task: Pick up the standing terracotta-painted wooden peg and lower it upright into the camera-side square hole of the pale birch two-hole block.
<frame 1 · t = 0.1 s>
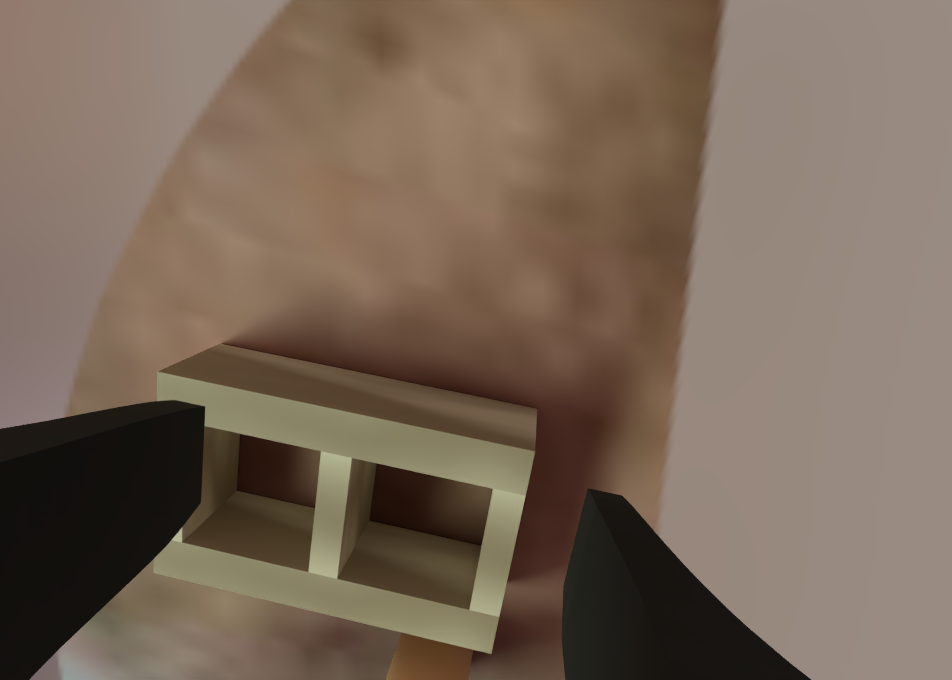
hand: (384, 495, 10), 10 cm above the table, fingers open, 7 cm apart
peg: (437, 638, 23), on the table
hole block: (363, 466, 21), on the table
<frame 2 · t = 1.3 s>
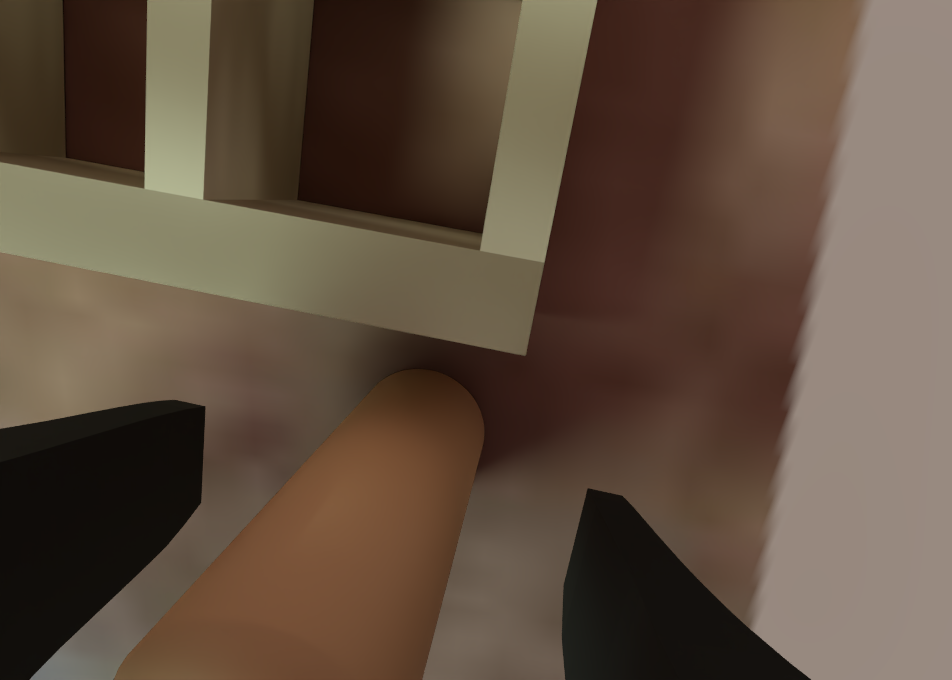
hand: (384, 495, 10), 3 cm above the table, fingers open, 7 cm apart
peg: (421, 429, 13), on the table
hole block: (283, 86, 12), on the table
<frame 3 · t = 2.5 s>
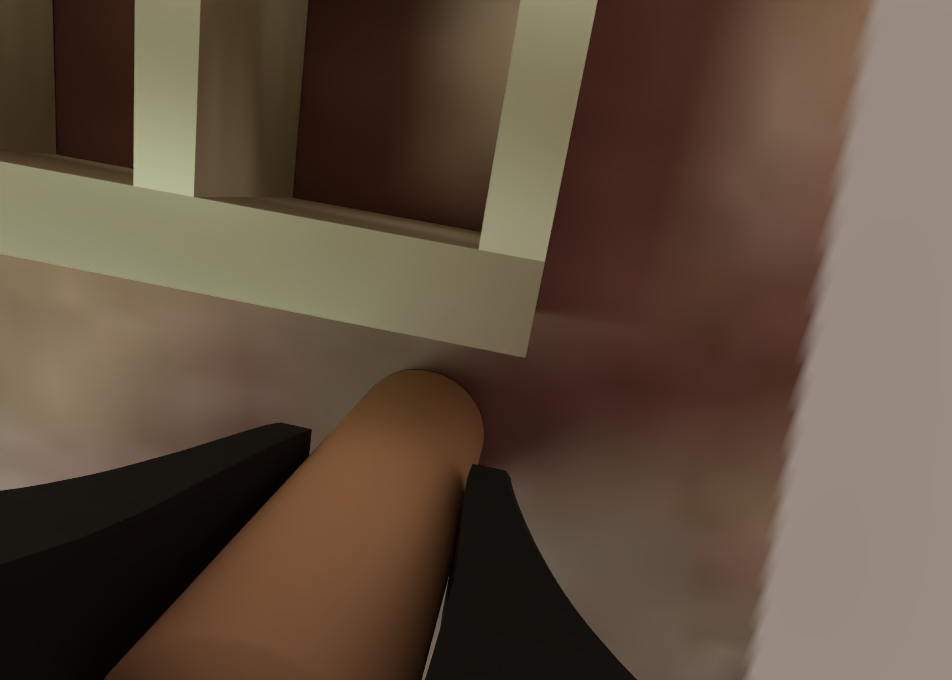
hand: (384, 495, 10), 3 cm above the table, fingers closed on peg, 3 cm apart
peg: (419, 431, 13), on the table, touching gripper
hole block: (278, 81, 11), on the table
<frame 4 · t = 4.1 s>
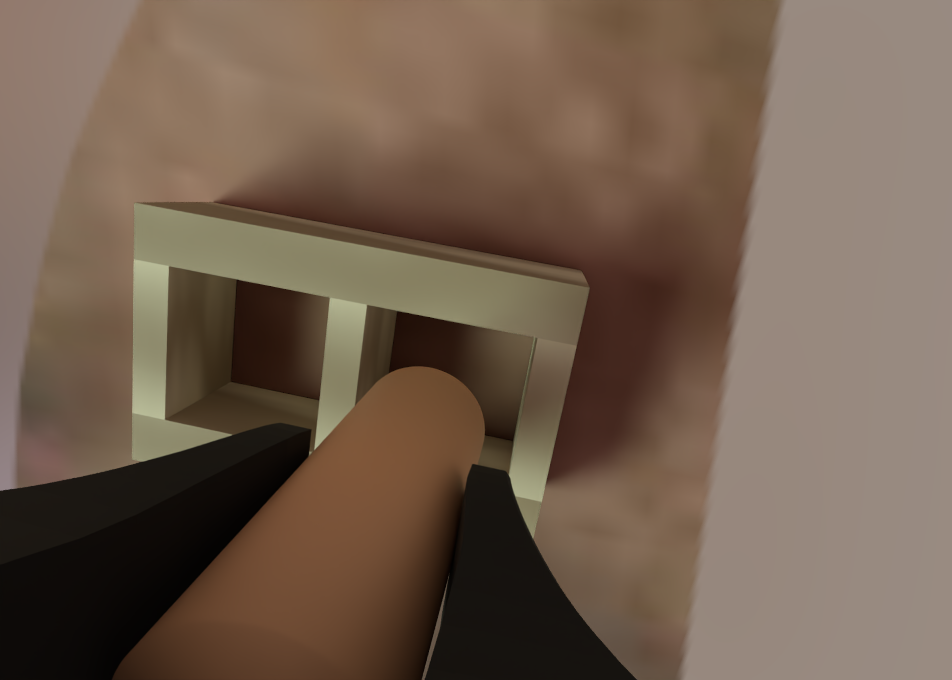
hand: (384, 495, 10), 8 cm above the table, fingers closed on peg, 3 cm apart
peg: (421, 427, 13), point 5 cm above the table, touching gripper
hole block: (377, 348, 19), on the table
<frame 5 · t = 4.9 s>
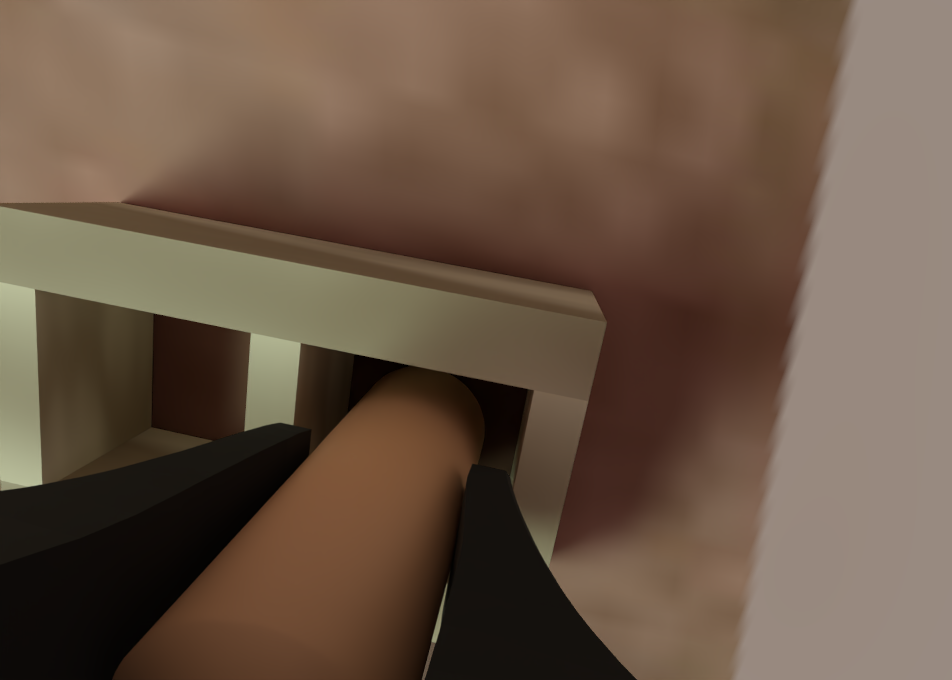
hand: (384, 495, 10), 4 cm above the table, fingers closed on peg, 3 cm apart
peg: (421, 426, 13), point 1 cm above the table, touching gripper
hole block: (331, 388, 15), on the table
when the fingers open (4 cm above the table, at t = 5.7 s): peg drops 1 cm, resting in hole block.
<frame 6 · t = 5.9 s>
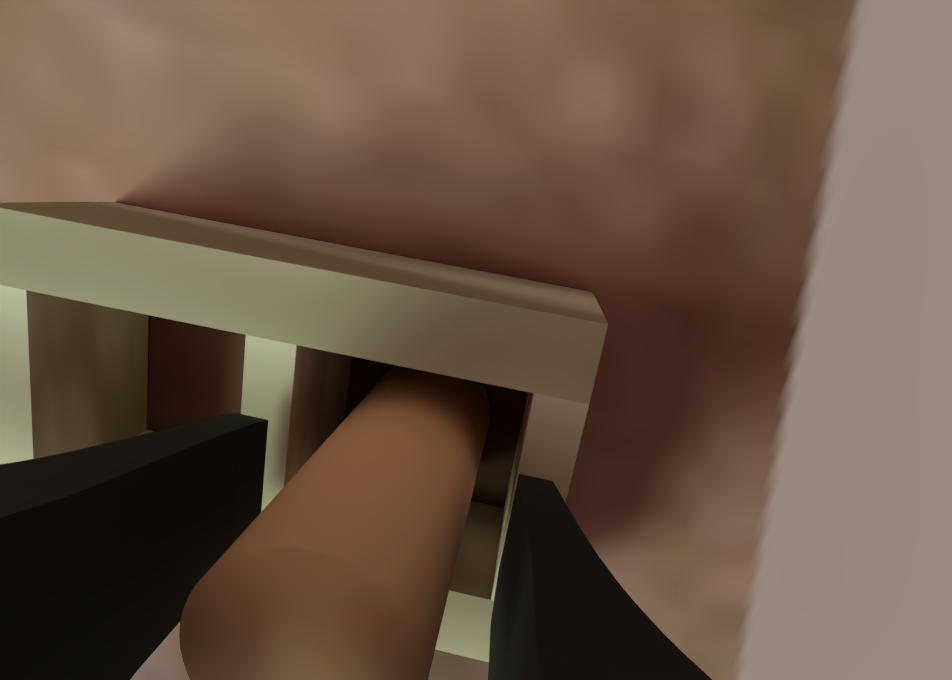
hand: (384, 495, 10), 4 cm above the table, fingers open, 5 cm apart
peg: (431, 410, 14), resting in hole block
hole block: (329, 390, 14), on the table
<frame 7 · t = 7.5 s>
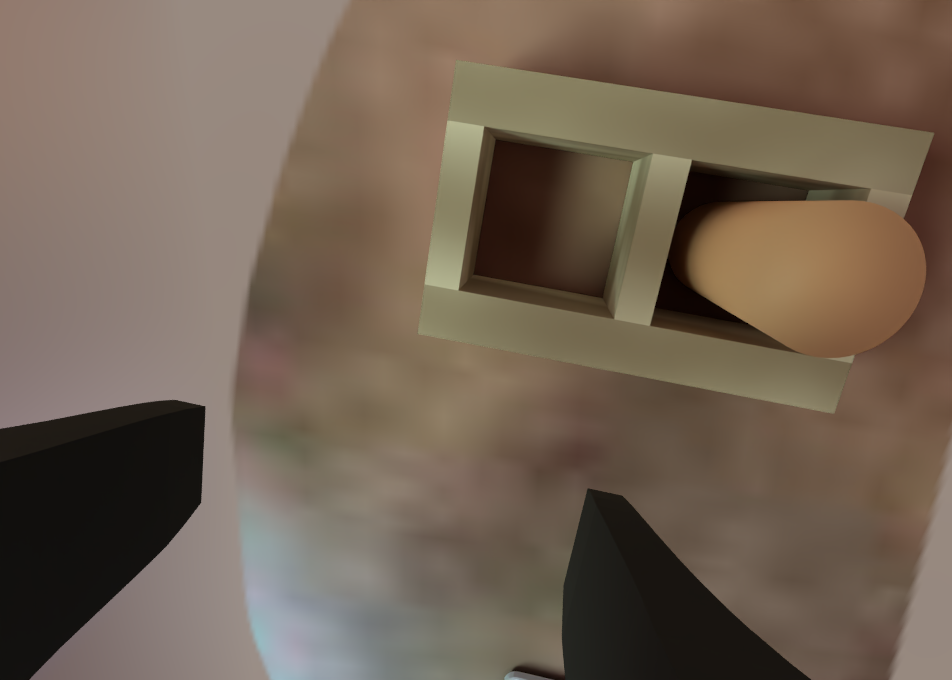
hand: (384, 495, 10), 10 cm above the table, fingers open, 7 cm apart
peg: (715, 248, 18), resting in hole block
hole block: (632, 234, 19), on the table
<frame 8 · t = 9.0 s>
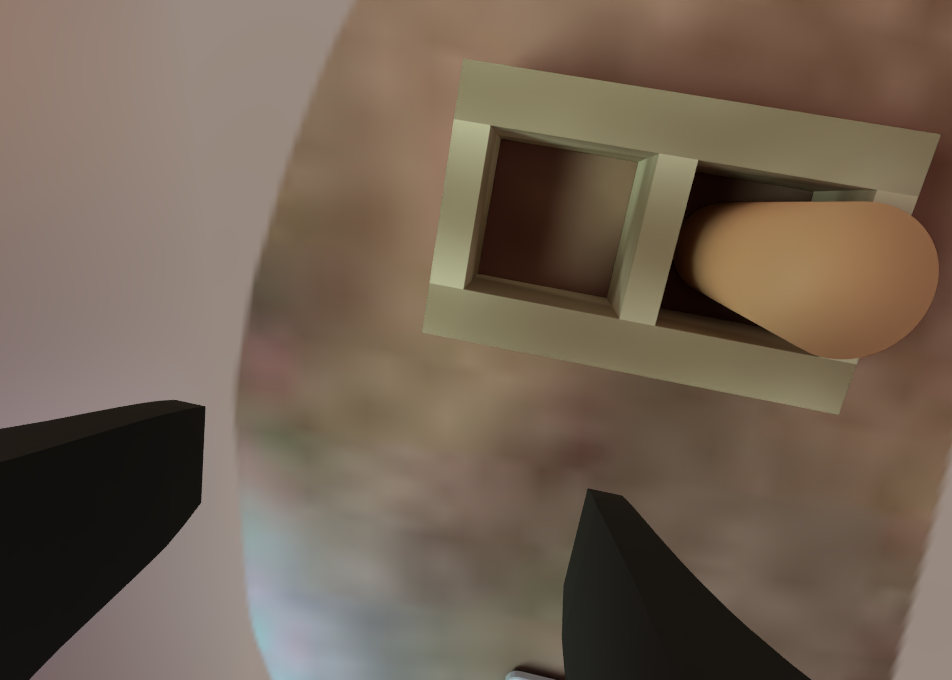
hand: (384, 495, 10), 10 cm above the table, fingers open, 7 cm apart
peg: (720, 249, 18), resting in hole block
hole block: (637, 234, 19), on the table
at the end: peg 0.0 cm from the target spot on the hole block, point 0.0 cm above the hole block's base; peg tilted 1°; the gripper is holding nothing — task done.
